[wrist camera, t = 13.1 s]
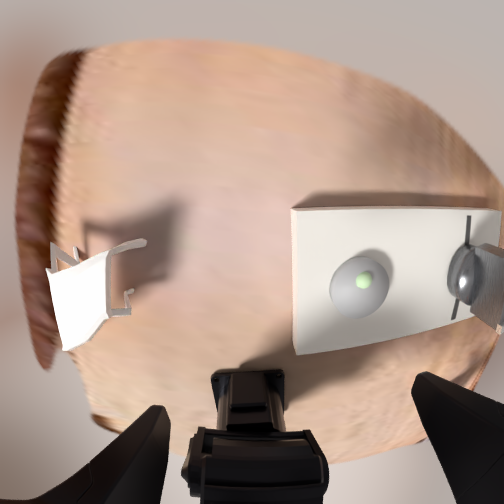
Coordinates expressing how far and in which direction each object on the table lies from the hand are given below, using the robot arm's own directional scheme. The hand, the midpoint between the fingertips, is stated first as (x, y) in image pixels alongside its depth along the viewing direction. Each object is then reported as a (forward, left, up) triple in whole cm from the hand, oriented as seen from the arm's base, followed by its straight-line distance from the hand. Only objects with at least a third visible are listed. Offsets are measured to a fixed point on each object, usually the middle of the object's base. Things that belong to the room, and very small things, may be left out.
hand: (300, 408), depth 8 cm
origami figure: (0, +14, -13) cm, 19 cm away
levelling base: (-1, -13, -13) cm, 18 cm away
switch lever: (-1, -18, -11) cm, 21 cm away
